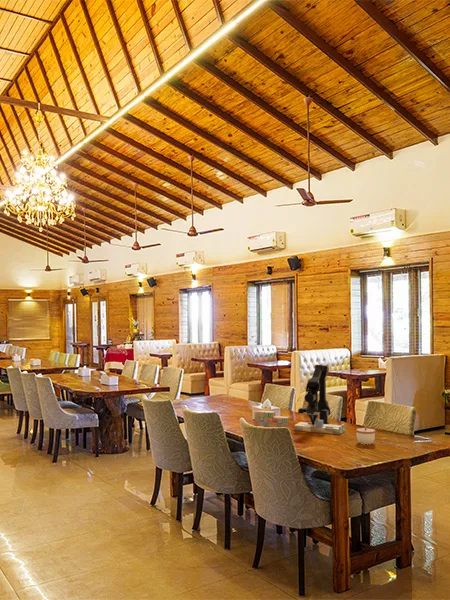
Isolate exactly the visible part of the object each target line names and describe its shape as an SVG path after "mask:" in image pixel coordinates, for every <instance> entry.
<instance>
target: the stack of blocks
mask: <svg viewBox="0 0 450 600" xmlns="http://www.w3.org/2000/svg"><path fill="white" fill-rule="evenodd" d="M255 426H264V427H287V428H289V429H290V416H284V415H283V416H281V415H276V411H275V410H255V411H254V427H255Z"/></svg>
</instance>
